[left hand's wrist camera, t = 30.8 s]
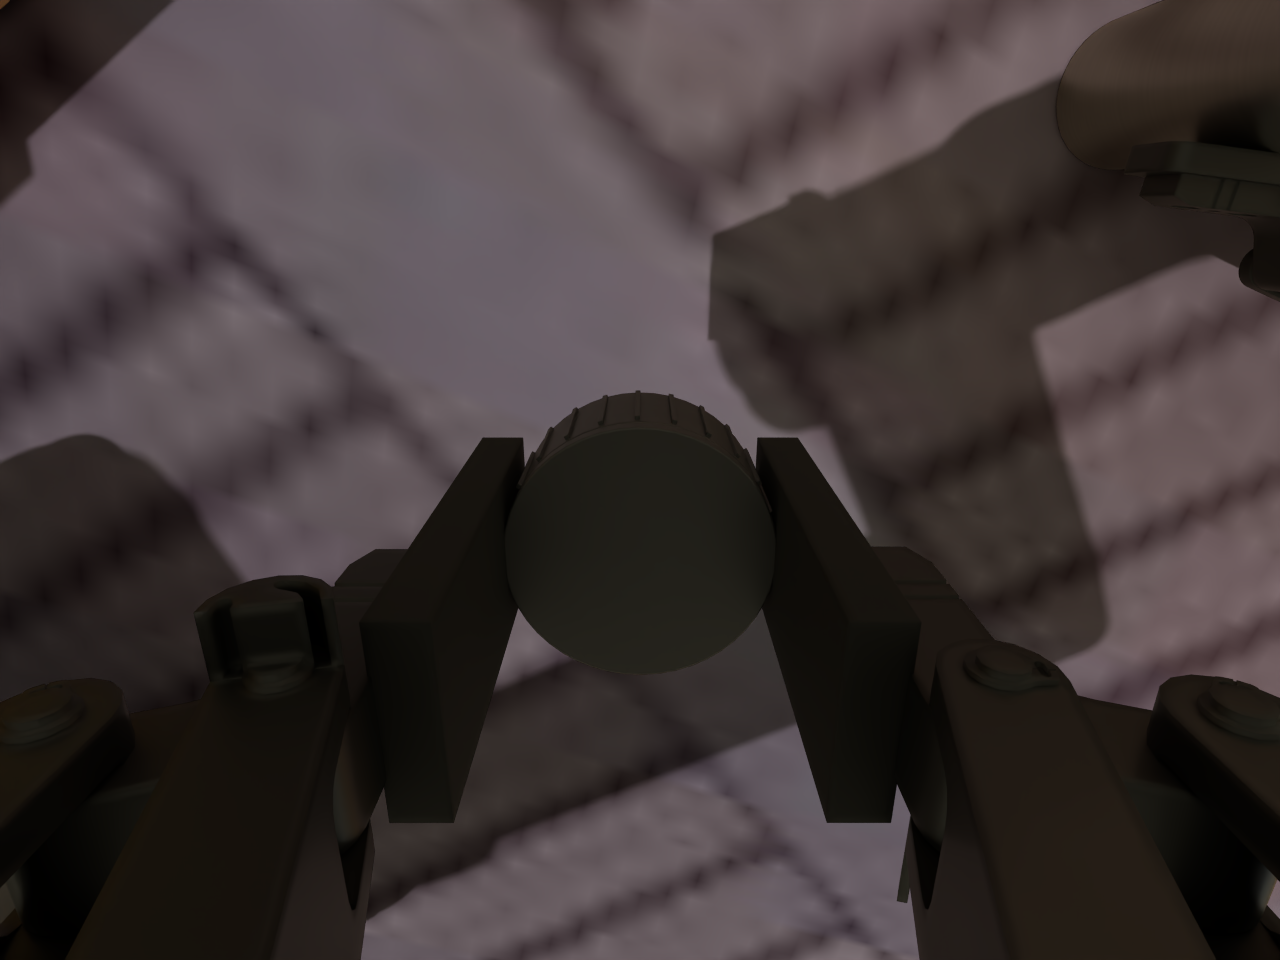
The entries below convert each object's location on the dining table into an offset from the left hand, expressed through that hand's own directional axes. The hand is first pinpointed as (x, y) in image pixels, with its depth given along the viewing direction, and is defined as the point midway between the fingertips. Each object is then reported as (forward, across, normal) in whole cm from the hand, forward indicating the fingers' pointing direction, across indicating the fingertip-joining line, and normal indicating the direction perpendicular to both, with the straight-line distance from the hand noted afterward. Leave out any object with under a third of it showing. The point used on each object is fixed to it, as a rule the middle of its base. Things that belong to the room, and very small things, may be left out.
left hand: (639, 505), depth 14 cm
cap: (-2, 0, 0) cm, 2 cm away
